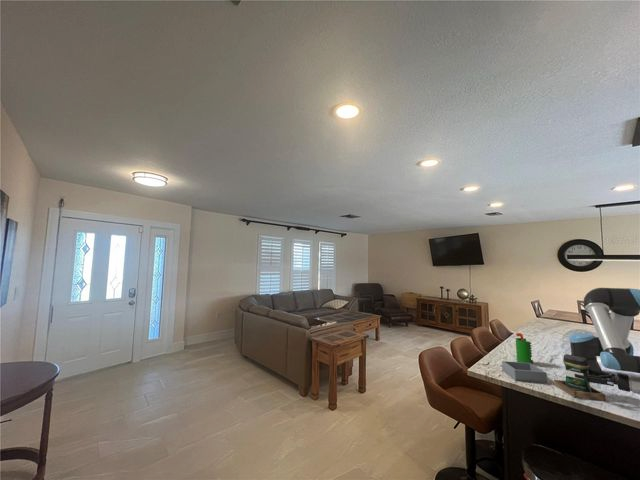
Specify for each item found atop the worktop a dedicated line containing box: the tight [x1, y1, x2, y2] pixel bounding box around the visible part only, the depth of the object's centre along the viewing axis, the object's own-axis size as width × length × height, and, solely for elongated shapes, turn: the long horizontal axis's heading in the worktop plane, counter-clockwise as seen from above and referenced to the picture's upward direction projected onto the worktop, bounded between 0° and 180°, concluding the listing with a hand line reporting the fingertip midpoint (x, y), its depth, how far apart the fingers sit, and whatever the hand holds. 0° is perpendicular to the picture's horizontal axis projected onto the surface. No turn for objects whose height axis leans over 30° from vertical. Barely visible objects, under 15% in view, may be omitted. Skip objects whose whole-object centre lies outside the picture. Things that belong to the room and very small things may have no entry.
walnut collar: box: [553, 379, 607, 402], centre depth 134 cm, size 13×15×3 cm
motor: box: [515, 332, 534, 365], centre depth 180 cm, size 10×9×20 cm
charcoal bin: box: [501, 360, 548, 384], centre depth 155 cm, size 16×16×6 cm
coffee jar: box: [562, 354, 592, 392], centre depth 135 cm, size 10×8×19 cm
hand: (568, 370), depth 138 cm, fingers open, 13 cm apart
